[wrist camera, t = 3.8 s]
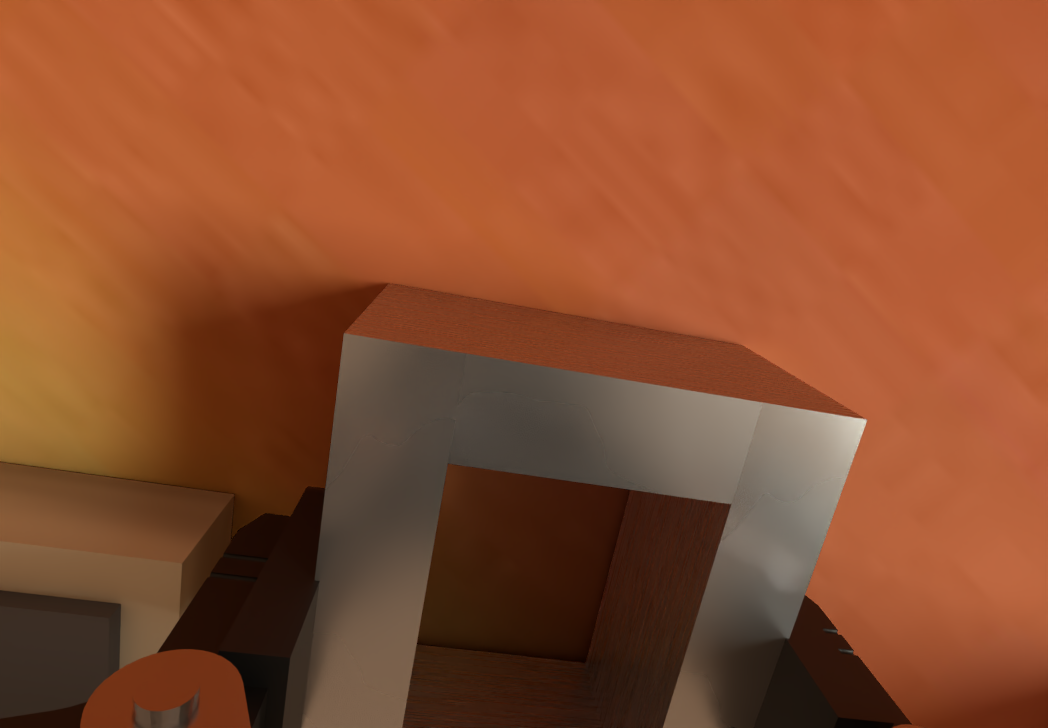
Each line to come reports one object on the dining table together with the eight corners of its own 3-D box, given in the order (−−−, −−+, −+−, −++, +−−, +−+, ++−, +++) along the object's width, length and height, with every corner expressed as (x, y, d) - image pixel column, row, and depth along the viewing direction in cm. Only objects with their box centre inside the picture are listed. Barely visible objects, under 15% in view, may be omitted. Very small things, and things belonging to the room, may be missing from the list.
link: (389, 283, 10) (344, 333, 7) (743, 345, 11) (867, 419, 7) (334, 692, 12) (277, 892, 9) (633, 721, 13) (690, 915, 9)
